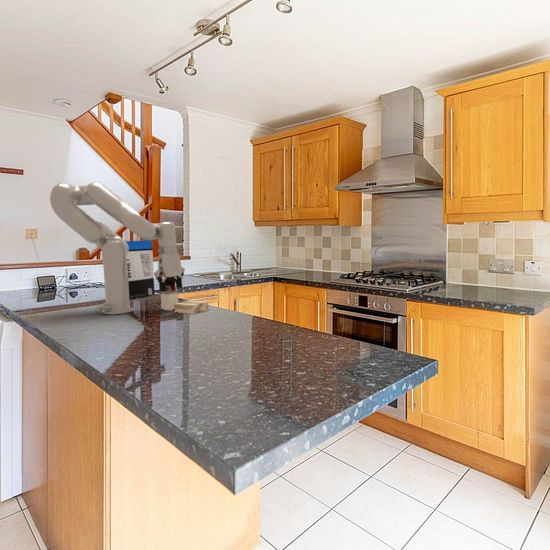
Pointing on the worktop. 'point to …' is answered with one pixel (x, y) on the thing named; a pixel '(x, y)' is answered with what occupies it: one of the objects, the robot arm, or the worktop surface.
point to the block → (191, 307)
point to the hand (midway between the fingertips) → (171, 289)
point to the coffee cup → (169, 284)
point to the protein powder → (140, 269)
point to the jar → (168, 299)
